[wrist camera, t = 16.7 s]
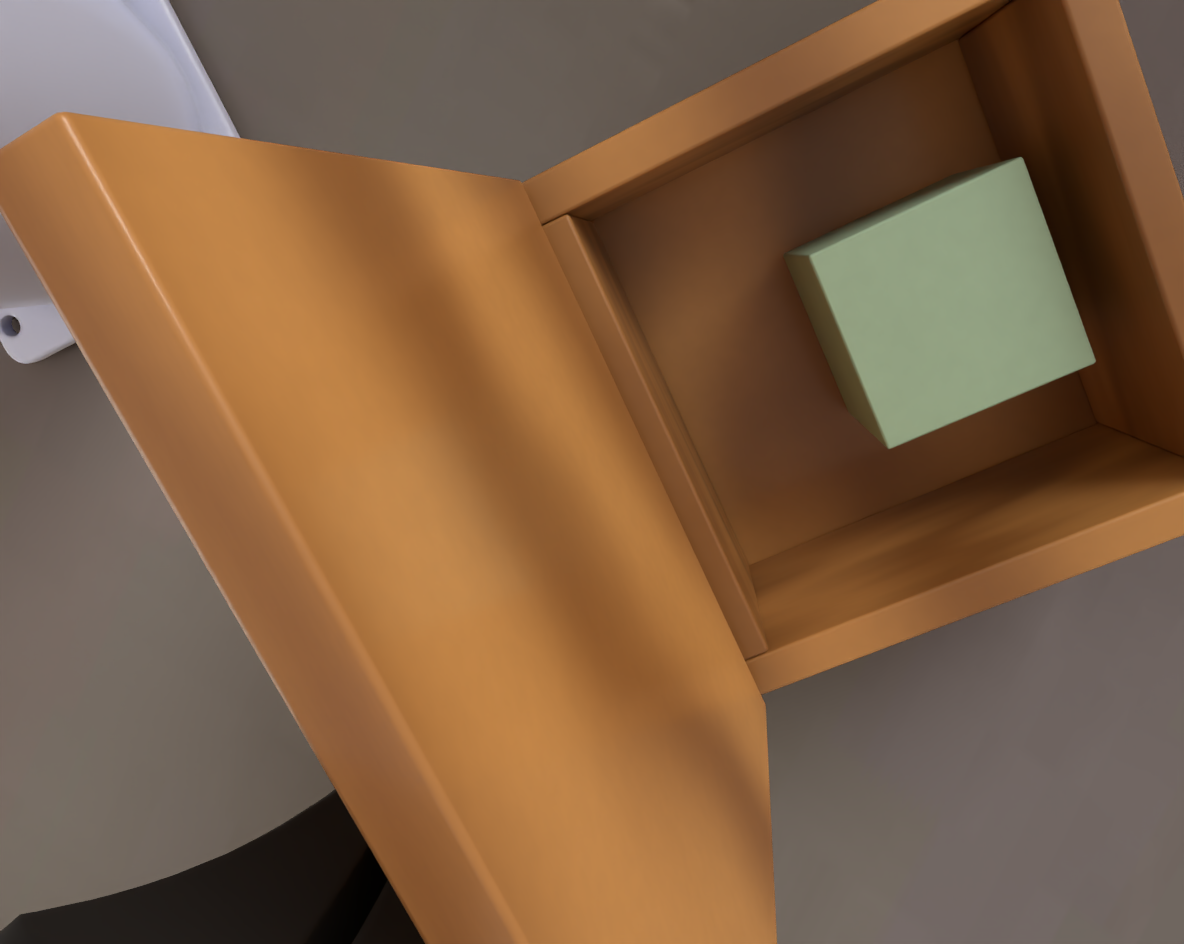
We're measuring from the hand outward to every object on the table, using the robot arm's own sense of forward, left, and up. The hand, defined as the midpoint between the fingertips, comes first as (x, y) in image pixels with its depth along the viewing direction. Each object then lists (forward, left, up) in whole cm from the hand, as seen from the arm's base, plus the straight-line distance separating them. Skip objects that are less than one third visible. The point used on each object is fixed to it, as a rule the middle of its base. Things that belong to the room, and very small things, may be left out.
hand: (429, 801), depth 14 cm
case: (-3, +10, -10) cm, 14 cm away
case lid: (-3, +5, +2) cm, 6 cm away
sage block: (-3, +11, -9) cm, 15 cm away
